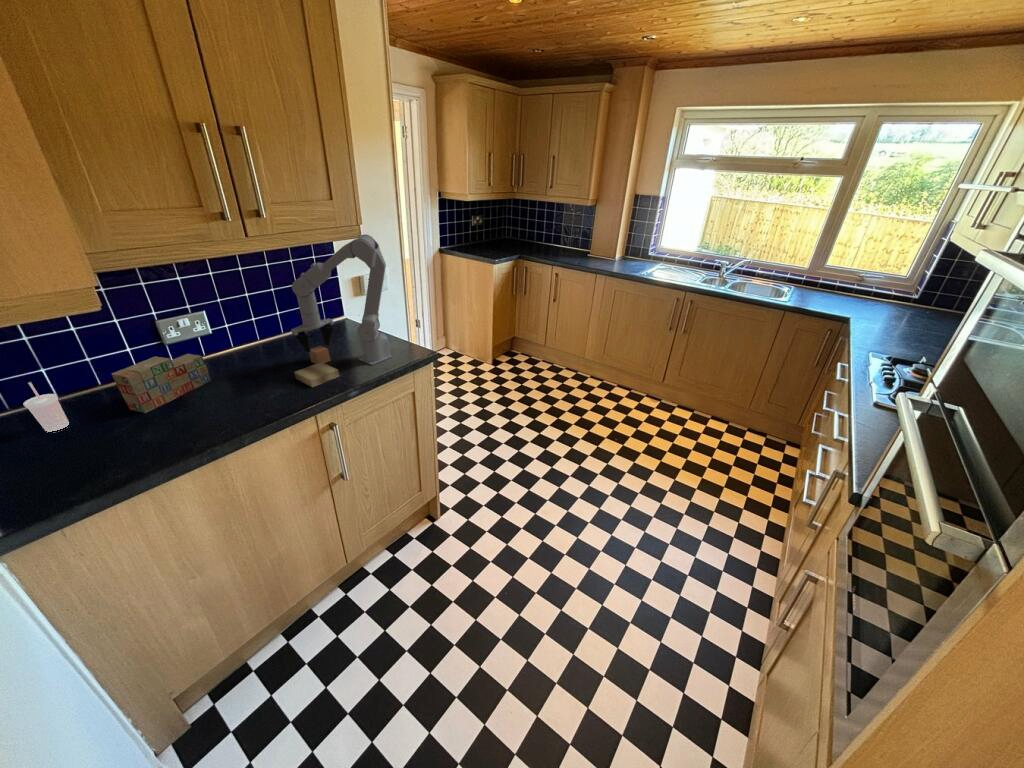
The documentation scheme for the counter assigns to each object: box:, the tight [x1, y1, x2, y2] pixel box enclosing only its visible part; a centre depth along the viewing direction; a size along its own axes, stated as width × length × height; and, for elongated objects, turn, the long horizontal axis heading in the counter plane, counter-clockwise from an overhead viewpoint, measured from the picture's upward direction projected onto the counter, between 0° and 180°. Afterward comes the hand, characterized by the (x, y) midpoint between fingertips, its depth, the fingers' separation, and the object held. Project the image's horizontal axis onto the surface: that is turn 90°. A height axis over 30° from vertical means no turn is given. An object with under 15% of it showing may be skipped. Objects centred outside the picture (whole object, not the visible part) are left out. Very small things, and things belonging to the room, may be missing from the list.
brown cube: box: [308, 345, 331, 365], centre depth 148 cm, size 5×5×5 cm
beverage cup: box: [22, 381, 70, 433], centre depth 106 cm, size 6×6×14 cm
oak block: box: [294, 362, 340, 388], centre depth 137 cm, size 10×10×3 cm
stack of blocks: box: [111, 353, 213, 414], centre depth 123 cm, size 21×6×12 cm, turn 164°
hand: (317, 347), depth 146 cm, fingers open, 7 cm apart
